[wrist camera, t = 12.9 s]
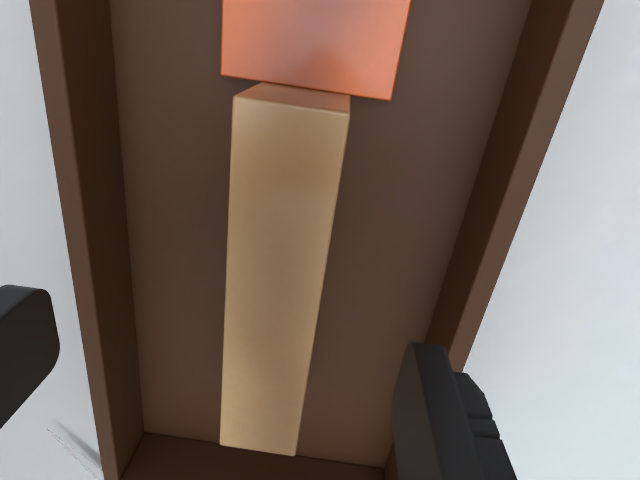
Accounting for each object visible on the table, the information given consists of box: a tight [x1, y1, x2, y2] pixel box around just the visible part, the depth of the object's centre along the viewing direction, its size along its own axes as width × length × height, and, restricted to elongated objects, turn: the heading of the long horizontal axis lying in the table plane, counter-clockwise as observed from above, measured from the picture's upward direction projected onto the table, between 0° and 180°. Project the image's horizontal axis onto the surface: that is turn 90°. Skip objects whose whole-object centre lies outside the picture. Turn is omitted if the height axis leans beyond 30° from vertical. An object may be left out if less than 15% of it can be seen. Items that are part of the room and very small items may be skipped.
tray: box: [29, 0, 604, 480], centre depth 16 cm, size 16×32×4 cm, turn 172°
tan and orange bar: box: [220, 0, 412, 456], centre depth 14 cm, size 6×22×4 cm, turn 172°
